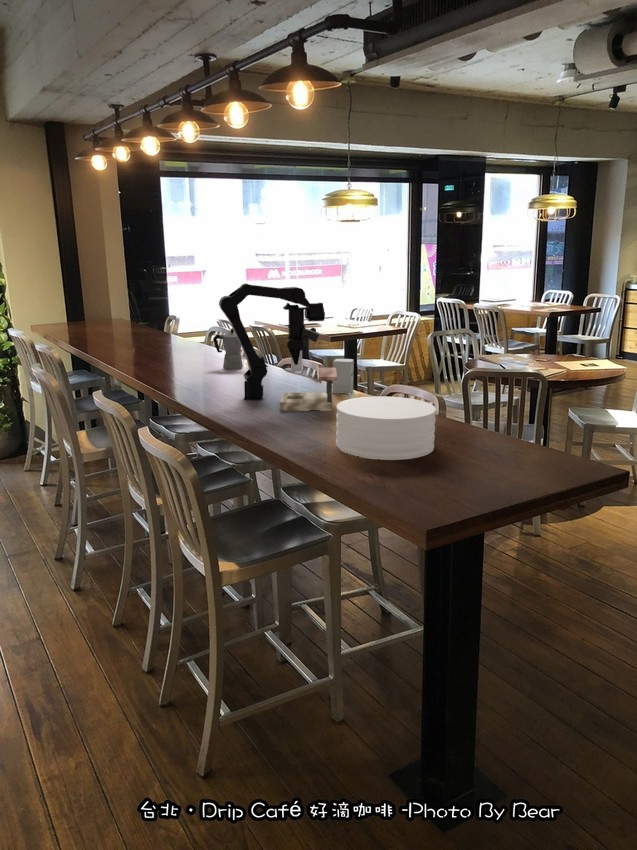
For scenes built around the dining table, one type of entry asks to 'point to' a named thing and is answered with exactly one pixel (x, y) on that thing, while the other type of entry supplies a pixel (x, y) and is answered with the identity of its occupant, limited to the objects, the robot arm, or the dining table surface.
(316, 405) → the socket block
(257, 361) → the robot arm
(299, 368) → the peg
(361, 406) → the plate stack
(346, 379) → the supplement box
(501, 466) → the dining table surface
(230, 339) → the coffeepot
